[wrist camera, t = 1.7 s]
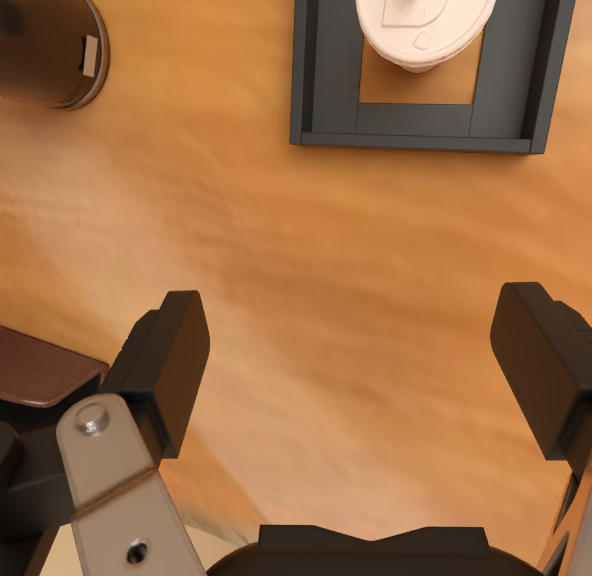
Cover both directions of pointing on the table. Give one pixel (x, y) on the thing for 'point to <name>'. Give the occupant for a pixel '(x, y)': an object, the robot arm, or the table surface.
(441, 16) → the smoothie
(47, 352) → the letter holder
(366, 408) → the table surface
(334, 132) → the dark grey rectangular frame
